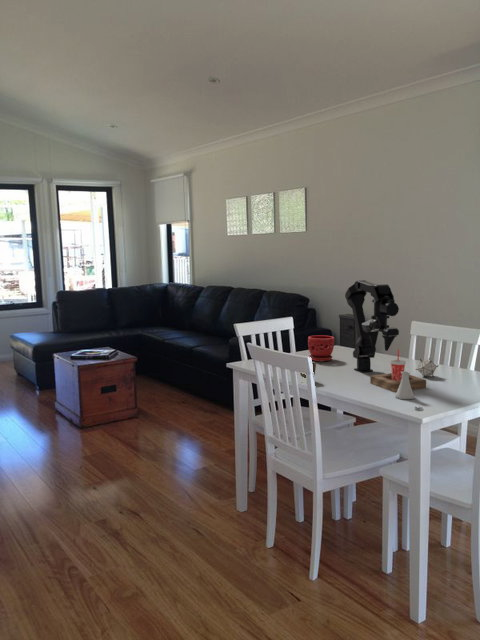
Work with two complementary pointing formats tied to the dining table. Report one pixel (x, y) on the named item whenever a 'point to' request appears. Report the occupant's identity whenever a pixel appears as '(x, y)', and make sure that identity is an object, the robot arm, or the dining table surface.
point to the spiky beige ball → (426, 367)
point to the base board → (393, 386)
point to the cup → (313, 370)
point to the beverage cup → (397, 369)
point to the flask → (405, 387)
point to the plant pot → (321, 347)
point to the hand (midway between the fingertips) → (379, 348)
